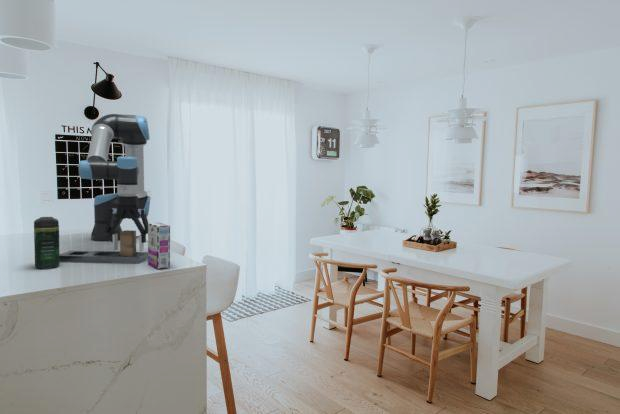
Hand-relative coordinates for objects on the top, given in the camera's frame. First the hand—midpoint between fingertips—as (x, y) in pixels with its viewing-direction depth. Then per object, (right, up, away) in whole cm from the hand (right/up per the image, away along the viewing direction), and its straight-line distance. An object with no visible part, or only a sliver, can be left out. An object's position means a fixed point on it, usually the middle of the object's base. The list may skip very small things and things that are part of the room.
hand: (128, 250), depth 165 cm
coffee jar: (-25, -5, -12) cm, 28 cm away
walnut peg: (0, -4, 0) cm, 4 cm away
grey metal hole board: (-10, -4, 0) cm, 11 cm away
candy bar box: (+15, -6, -7) cm, 18 cm away
